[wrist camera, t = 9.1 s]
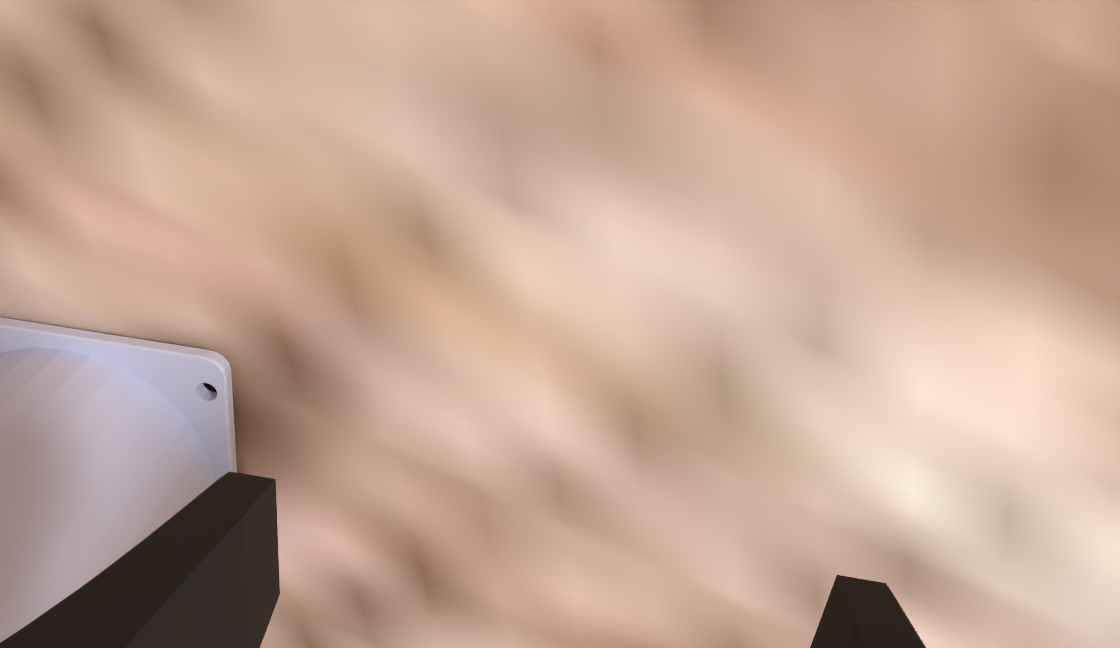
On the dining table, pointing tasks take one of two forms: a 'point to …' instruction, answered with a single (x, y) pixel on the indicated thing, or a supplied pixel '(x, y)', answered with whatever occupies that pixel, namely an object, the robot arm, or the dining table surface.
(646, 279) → the dining table surface
